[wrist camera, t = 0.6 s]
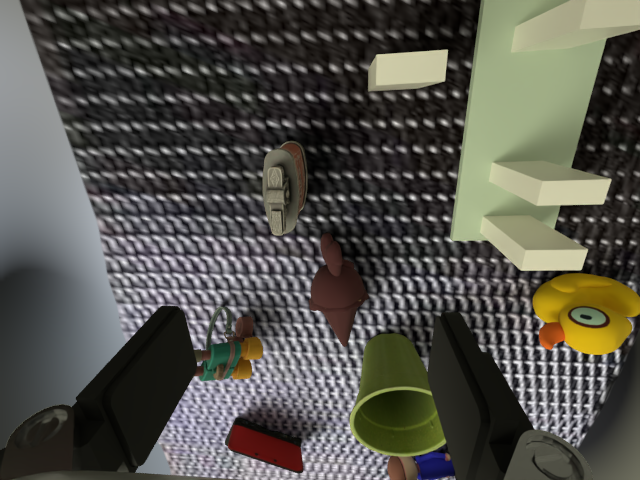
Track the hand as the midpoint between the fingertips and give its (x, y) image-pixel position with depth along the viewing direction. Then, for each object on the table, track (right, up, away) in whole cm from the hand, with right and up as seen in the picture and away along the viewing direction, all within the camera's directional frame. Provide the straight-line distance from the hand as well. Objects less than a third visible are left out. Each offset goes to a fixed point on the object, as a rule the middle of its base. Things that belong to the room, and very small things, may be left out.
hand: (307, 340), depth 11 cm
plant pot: (+11, -13, +33) cm, 37 cm away
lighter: (-3, +11, +24) cm, 27 cm away
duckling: (+30, -2, +27) cm, 40 cm away
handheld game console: (-9, -31, +43) cm, 54 cm away
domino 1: (+8, +20, +19) cm, 29 cm away
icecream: (+3, -1, +29) cm, 29 cm away
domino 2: (+21, +22, +16) cm, 34 cm away
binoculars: (-11, -9, +34) cm, 37 cm away
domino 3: (+21, +11, +21) cm, 32 cm away
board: (+21, +17, +19) cm, 33 cm away
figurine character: (+20, -33, +42) cm, 57 cm away
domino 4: (+22, +6, +23) cm, 32 cm away
